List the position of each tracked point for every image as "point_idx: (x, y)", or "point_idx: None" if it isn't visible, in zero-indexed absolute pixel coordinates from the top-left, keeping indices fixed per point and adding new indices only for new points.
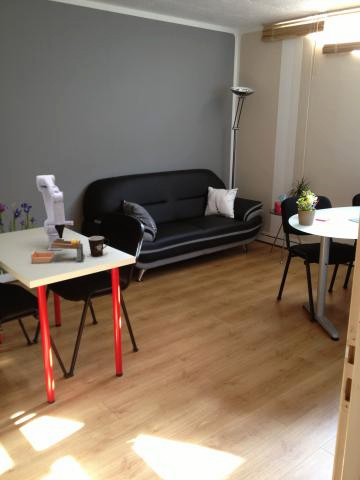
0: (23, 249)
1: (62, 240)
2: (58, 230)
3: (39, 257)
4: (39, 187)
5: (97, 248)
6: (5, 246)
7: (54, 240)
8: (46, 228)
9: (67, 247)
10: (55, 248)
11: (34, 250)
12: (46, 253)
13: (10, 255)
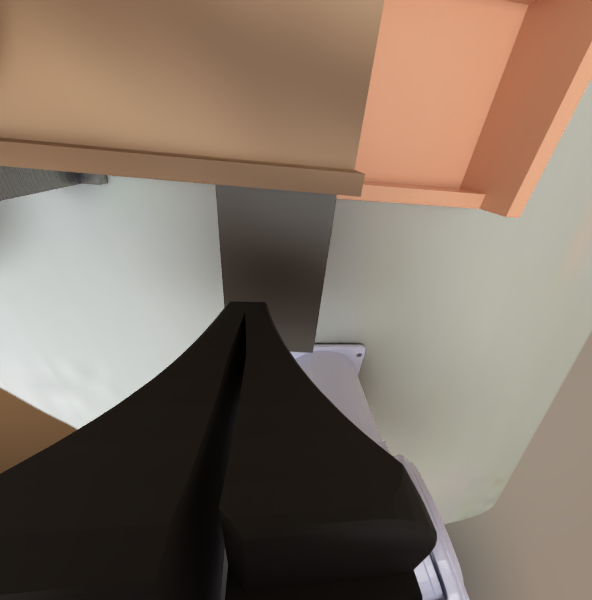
0: (483, 373)
1: (232, 298)
2: (268, 398)
3: (441, 177)
4: None
5: None
6: (541, 414)
7: (344, 181)
8: (440, 521)
9: None
10: (317, 354)
11: (539, 170)
12: (395, 186)
13: (585, 286)
